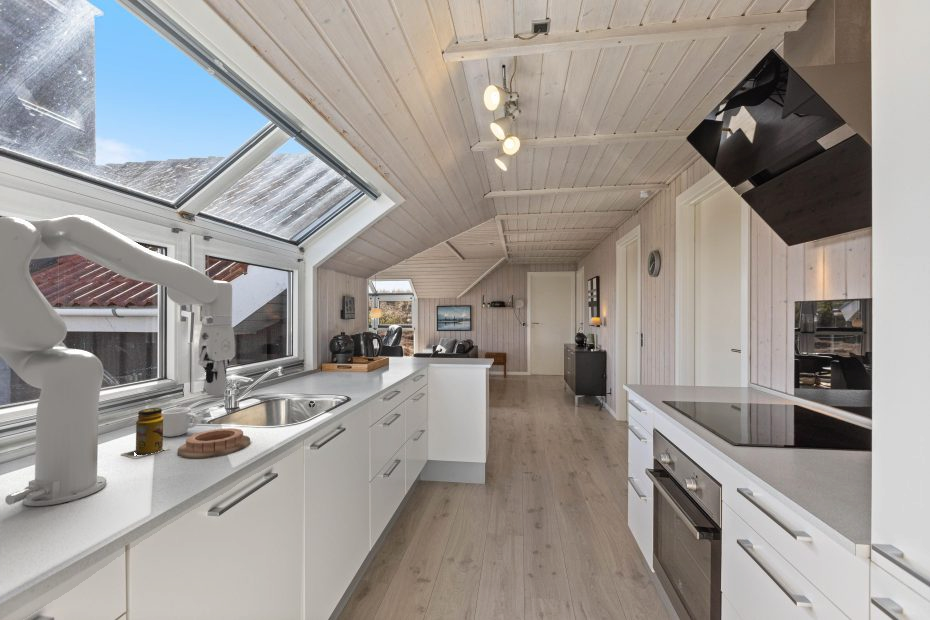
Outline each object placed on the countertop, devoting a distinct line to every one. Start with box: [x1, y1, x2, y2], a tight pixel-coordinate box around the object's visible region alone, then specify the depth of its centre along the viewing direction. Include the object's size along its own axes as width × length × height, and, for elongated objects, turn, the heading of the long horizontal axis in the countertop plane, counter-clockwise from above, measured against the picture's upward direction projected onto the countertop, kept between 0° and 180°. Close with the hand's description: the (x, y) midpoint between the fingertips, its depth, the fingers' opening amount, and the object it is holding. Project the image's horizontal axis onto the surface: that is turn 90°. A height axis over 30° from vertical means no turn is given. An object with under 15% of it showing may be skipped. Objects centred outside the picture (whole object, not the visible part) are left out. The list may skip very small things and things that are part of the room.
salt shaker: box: [203, 359, 228, 397], centre depth 113 cm, size 6×6×13 cm
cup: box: [162, 407, 199, 438], centre depth 125 cm, size 11×8×8 cm
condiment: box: [120, 407, 170, 460], centre depth 109 cm, size 7×8×12 cm
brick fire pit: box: [177, 427, 251, 460], centre depth 113 cm, size 18×18×4 cm
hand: (216, 383), depth 113 cm, fingers closed on salt shaker, 3 cm apart
